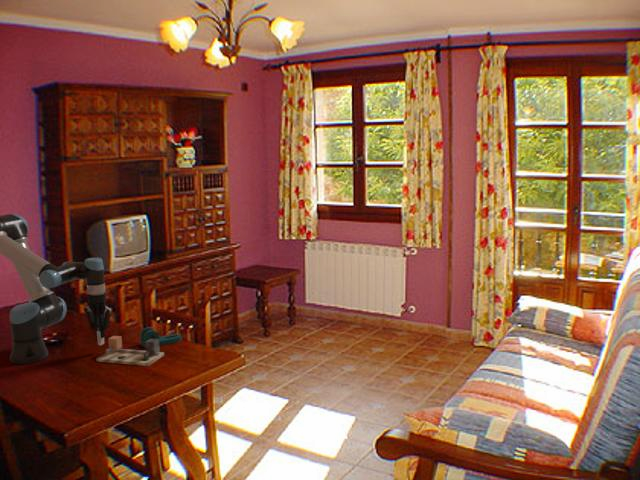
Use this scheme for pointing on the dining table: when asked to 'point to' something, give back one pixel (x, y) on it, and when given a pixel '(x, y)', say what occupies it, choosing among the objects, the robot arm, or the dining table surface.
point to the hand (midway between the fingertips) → (101, 344)
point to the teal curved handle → (163, 340)
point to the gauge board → (134, 355)
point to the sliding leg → (114, 343)
